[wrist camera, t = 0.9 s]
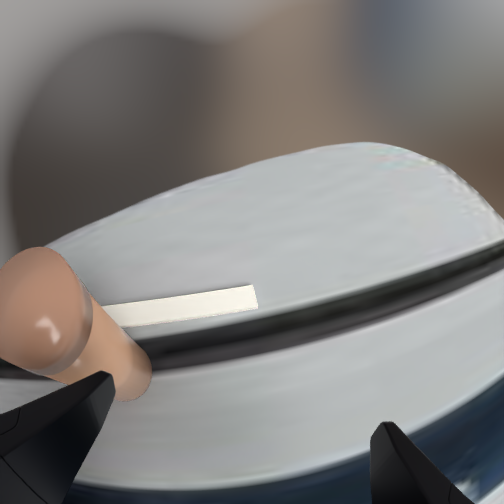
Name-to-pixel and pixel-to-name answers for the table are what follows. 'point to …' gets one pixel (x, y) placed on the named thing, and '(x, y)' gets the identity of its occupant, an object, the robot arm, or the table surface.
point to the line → (183, 307)
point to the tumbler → (64, 326)
